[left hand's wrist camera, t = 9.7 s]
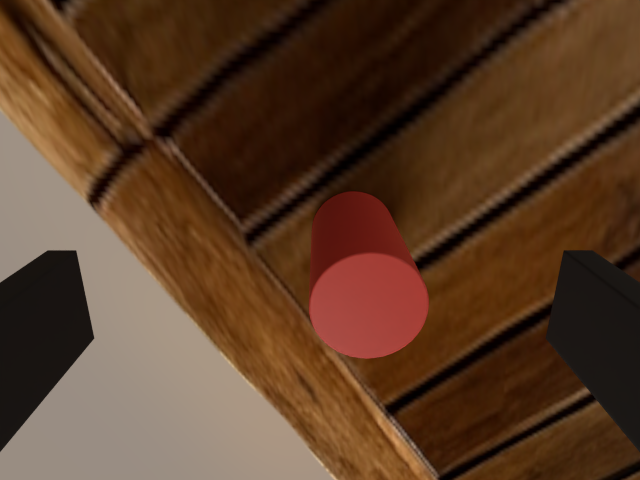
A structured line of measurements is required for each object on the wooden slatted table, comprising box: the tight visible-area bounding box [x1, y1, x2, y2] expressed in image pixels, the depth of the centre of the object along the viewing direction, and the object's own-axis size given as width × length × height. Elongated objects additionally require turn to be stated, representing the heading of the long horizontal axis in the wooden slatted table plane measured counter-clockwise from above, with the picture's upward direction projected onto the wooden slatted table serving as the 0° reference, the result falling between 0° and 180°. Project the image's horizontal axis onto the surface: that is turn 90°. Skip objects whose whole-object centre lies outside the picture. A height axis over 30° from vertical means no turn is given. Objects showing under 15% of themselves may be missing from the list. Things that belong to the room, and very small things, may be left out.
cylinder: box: [309, 191, 429, 358], centre depth 25 cm, size 5×5×10 cm
